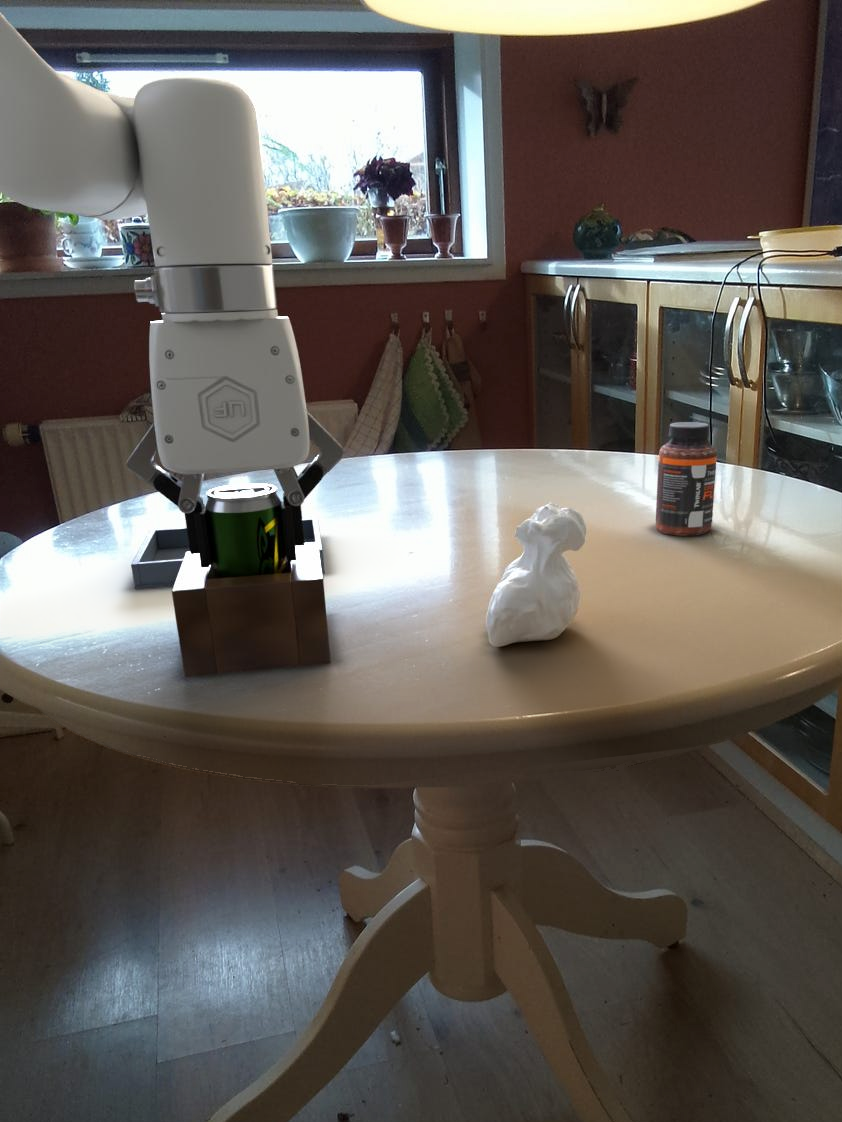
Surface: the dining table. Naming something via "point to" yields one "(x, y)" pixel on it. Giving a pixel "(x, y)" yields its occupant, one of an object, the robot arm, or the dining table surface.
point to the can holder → (251, 617)
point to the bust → (538, 580)
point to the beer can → (246, 530)
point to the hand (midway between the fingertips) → (249, 556)
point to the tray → (169, 547)
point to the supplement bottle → (686, 481)
